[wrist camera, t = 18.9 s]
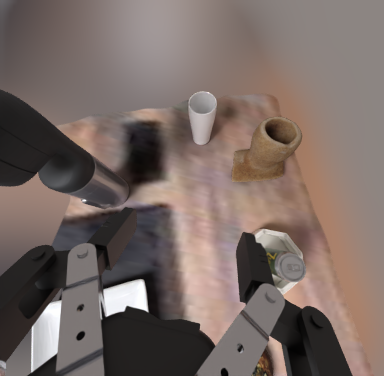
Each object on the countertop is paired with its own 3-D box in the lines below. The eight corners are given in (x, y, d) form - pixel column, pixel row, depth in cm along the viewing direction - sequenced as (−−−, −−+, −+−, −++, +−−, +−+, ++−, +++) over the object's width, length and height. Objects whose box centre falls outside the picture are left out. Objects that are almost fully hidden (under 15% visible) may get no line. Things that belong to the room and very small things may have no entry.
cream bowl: (262, 299, 42) (269, 305, 38) (229, 250, 45) (232, 251, 41) (304, 265, 43) (315, 268, 39) (269, 220, 46) (275, 219, 43)
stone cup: (276, 144, 53) (305, 109, 38) (283, 181, 49) (319, 158, 35) (226, 147, 53) (237, 114, 38) (230, 184, 50) (244, 163, 35)
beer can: (276, 248, 44) (305, 252, 32) (279, 271, 42) (309, 284, 31) (255, 247, 44) (275, 251, 32) (256, 270, 42) (278, 283, 31)
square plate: (148, 274, 44) (143, 278, 41) (170, 410, 37) (167, 429, 33) (43, 302, 44) (28, 308, 40) (44, 447, 36) (27, 471, 32)
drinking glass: (196, 125, 55) (195, 86, 41) (215, 133, 54) (222, 96, 40) (186, 142, 54) (182, 108, 39) (206, 151, 53) (209, 119, 38)
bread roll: (282, 367, 38) (290, 387, 33) (245, 402, 38) (249, 428, 33) (244, 321, 41) (247, 334, 36) (210, 353, 41) (209, 371, 36)
